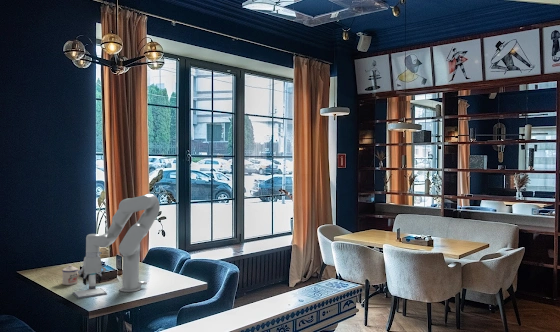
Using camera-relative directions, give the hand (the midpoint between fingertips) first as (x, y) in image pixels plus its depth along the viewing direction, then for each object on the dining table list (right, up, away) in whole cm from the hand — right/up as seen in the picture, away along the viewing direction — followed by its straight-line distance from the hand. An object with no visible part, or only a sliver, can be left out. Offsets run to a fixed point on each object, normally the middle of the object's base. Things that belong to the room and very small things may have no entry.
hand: (92, 283), depth 283 cm
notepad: (+3, -4, -10) cm, 11 cm away
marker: (0, -3, 0) cm, 3 cm away
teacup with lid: (-18, -3, +12) cm, 21 cm away
